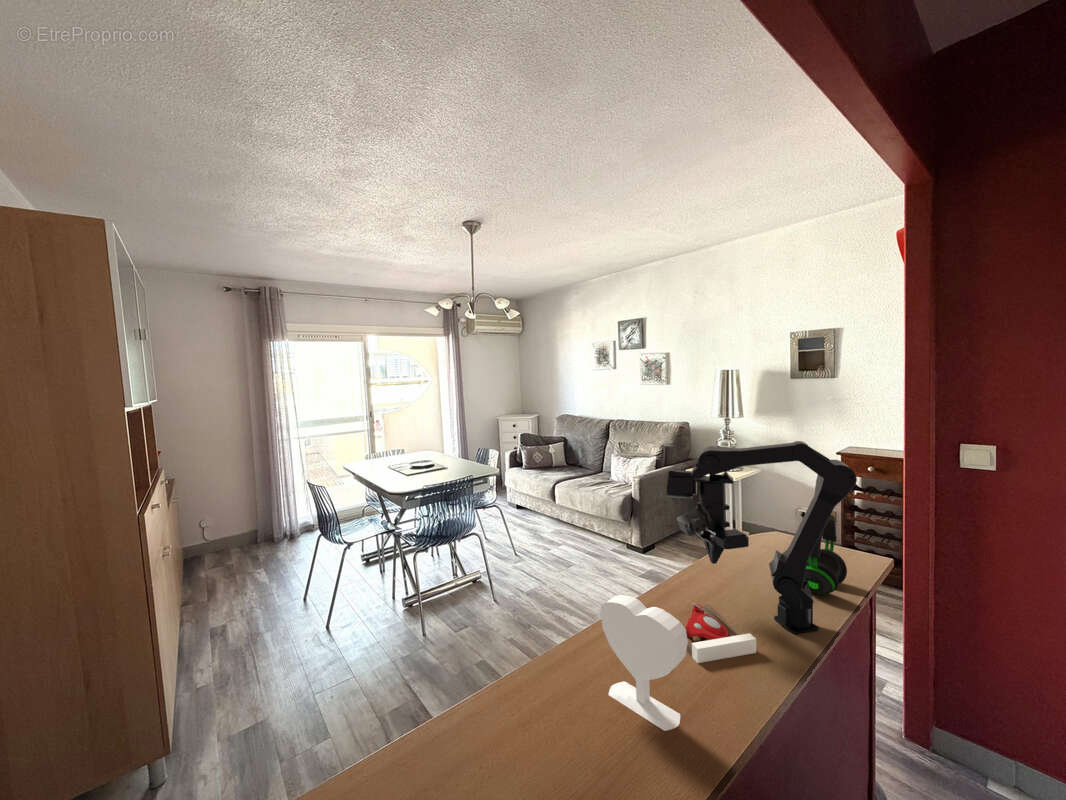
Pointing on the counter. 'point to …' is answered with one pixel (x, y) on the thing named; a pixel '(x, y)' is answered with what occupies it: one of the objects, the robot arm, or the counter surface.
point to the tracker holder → (704, 625)
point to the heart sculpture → (644, 653)
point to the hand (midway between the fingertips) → (713, 563)
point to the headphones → (825, 563)
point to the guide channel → (722, 642)
